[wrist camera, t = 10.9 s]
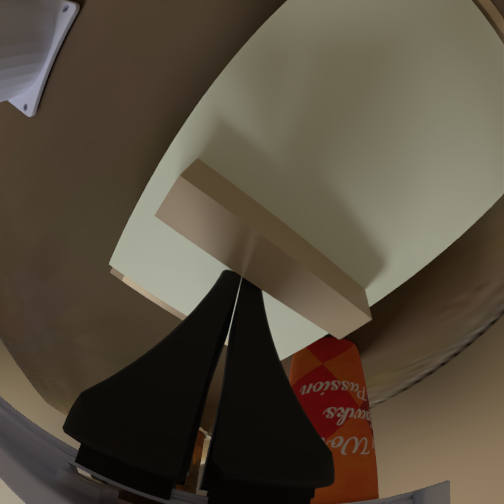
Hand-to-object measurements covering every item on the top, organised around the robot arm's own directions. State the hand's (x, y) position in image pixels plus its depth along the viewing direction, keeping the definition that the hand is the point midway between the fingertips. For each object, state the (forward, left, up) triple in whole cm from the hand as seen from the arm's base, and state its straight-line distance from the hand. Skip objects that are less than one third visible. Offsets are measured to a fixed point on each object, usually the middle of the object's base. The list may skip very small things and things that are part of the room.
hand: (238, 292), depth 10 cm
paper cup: (+12, -6, -6) cm, 14 cm away
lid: (0, +5, -2) cm, 5 cm away
